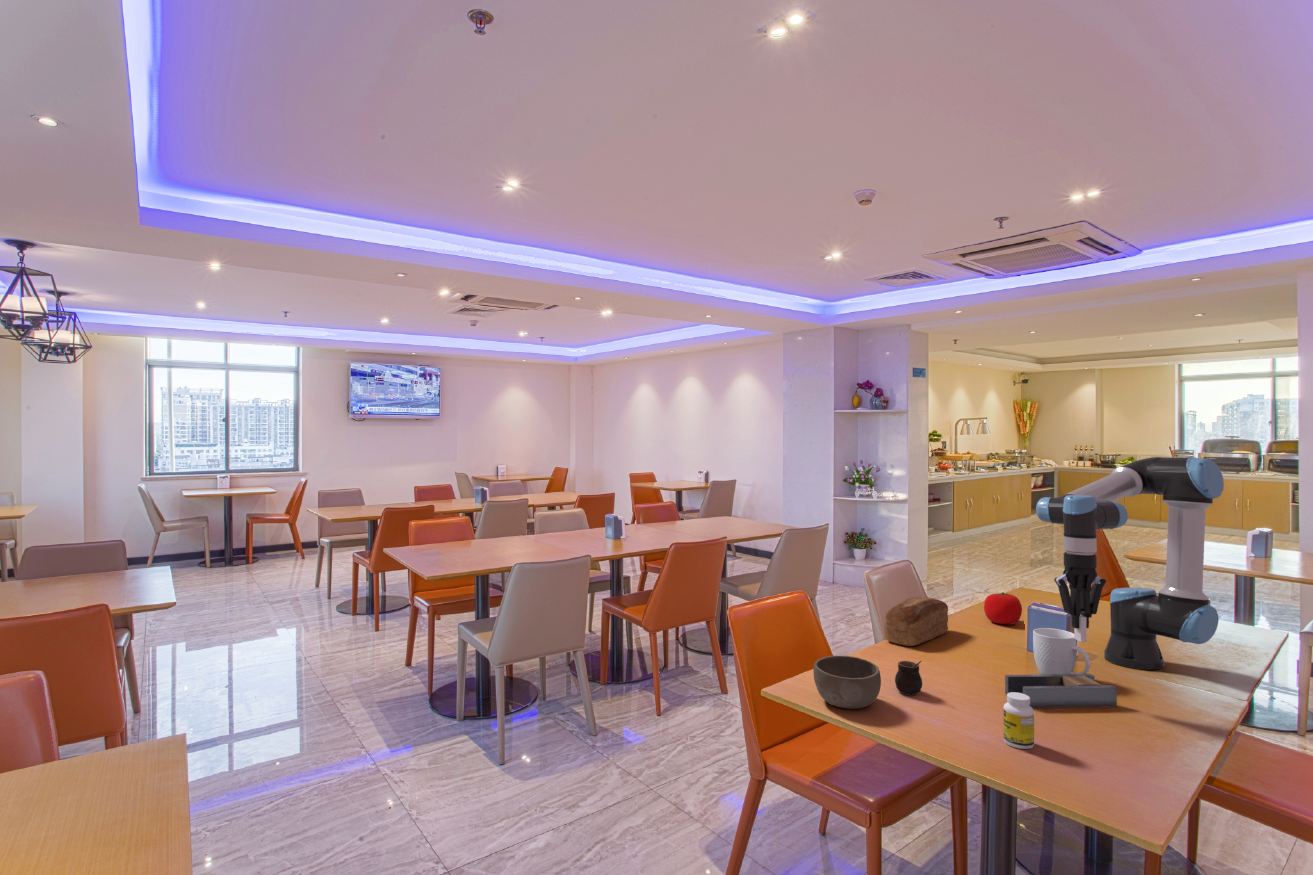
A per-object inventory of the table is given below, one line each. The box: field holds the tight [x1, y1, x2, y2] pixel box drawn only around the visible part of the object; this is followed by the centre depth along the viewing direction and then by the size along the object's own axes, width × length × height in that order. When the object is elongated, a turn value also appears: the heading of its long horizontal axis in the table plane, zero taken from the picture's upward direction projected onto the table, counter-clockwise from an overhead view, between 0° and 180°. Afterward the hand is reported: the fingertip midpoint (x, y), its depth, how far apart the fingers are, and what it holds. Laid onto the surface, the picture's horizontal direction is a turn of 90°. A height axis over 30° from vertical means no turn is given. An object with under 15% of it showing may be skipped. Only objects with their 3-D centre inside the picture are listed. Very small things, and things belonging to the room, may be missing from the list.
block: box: [1063, 676, 1101, 686], centre depth 177 cm, size 6×6×4 cm
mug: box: [1032, 627, 1091, 675], centre depth 192 cm, size 15×11×13 cm
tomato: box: [983, 592, 1023, 626], centre depth 251 cm, size 13×14×12 cm
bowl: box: [812, 655, 882, 710], centre depth 176 cm, size 17×18×10 cm
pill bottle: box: [1003, 692, 1035, 750], centre depth 151 cm, size 6×6×11 cm
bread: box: [884, 596, 949, 647], centre depth 234 cm, size 12×31×14 cm, turn 132°
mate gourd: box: [894, 660, 923, 696], centre depth 182 cm, size 7×8×10 cm
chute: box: [1004, 673, 1118, 709], centre depth 177 cm, size 24×10×5 cm, turn 91°
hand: (1080, 640), depth 177 cm, fingers closed
